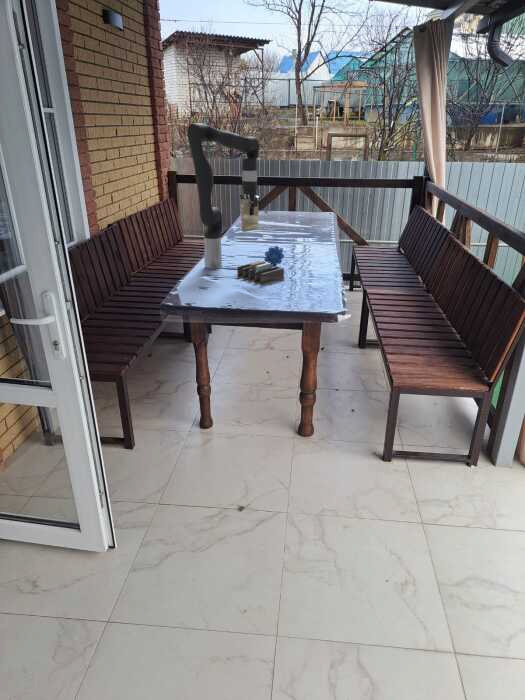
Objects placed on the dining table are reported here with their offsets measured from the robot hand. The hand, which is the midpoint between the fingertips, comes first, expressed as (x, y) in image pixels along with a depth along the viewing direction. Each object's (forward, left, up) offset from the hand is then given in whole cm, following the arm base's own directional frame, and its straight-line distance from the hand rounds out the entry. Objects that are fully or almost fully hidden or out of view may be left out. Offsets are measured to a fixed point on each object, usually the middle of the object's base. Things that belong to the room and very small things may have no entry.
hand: (250, 214), depth 253 cm
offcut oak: (+8, -2, -31) cm, 32 cm away
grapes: (-3, +21, -32) cm, 39 cm away
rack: (+10, -2, -32) cm, 34 cm away
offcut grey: (+12, -2, -31) cm, 33 cm away
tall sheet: (0, 0, -8) cm, 8 cm away
